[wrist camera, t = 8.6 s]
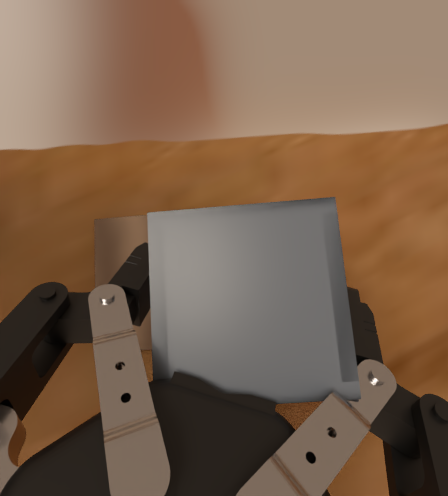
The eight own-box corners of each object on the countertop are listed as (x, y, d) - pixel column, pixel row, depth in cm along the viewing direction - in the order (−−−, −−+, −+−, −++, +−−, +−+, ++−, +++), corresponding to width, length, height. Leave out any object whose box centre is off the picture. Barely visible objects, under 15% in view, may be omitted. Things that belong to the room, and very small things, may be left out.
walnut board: (100, 350, 32) (95, 352, 31) (98, 221, 34) (94, 219, 33) (232, 342, 31) (232, 344, 30) (223, 211, 33) (222, 208, 32)
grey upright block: (196, 352, 18) (154, 410, 9) (190, 249, 19) (147, 212, 10) (300, 345, 18) (361, 399, 9) (290, 242, 19) (335, 196, 10)
